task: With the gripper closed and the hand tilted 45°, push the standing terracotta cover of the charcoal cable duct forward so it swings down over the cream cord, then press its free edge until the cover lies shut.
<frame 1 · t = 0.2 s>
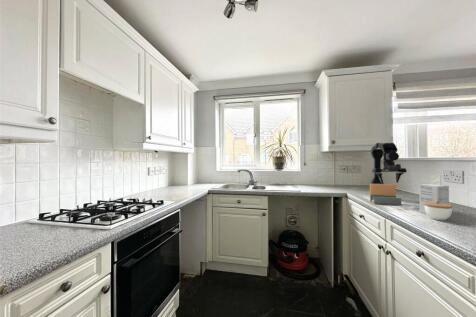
hand: (389, 182, 143), 15 cm above the table, tool pointing down, fingers open, 9 cm apart
supplement box: (433, 214, 117), on the table
cable duct: (384, 203, 145), on the table
duct cover: (382, 189, 149), point 9 cm above the table, hinge at 88.0°
lidded jar: (437, 219, 108), on the table
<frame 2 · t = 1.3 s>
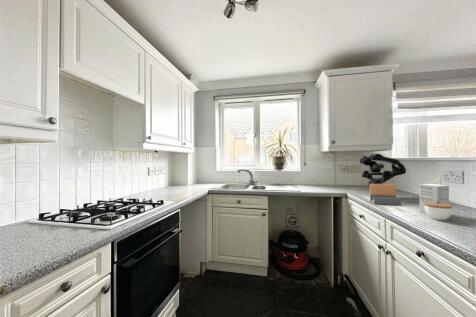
hand: (378, 182, 156), 14 cm above the table, tool tilted 45°, fingers open, 7 cm apart
nothing on the table moved.
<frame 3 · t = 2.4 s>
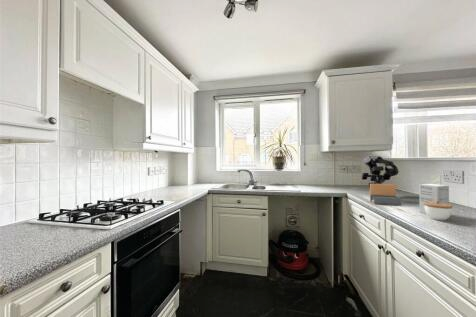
hand: (378, 184, 155), 12 cm above the table, tool tilted 45°, fingers closed
nothing on the table moved.
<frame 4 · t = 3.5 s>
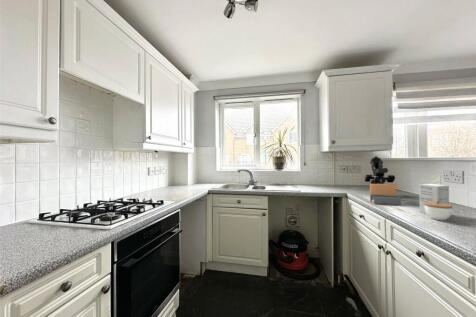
hand: (382, 187, 149), 11 cm above the table, tool tilted 45°, fingers closed, pressing on duct cover
duct cover: (382, 189, 148), point 9 cm above the table, hinge at 84.1°, touching gripper
everything else where it was.
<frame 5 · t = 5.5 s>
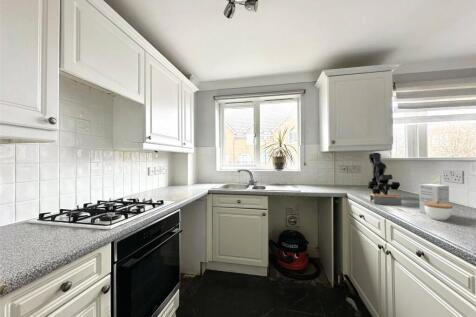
hand: (386, 195, 142), 6 cm above the table, tool tilted 45°, fingers closed, pressing on duct cover
duct cover: (385, 195, 144), point 6 cm above the table, hinge at 1.7°, touching gripper
everything else where it was.
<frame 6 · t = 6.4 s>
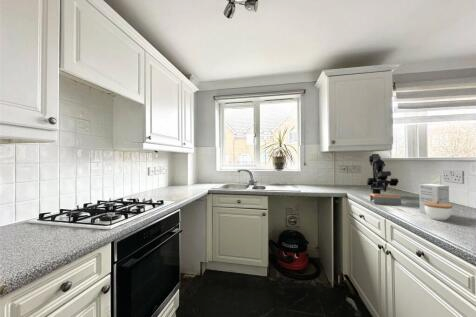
hand: (385, 191, 144), 9 cm above the table, tool tilted 45°, fingers closed
duct cover: (385, 195, 144), point 6 cm above the table, hinge at -0.7°
everything else where it was.
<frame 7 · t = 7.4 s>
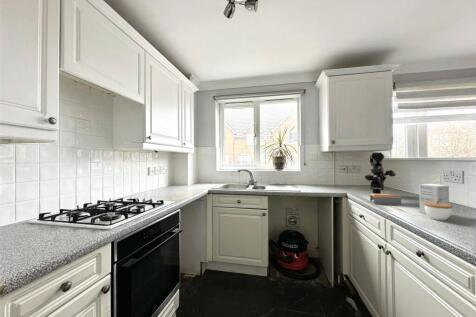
hand: (381, 186, 150), 11 cm above the table, tool tilted 30°, fingers closed
nothing on the table moved.
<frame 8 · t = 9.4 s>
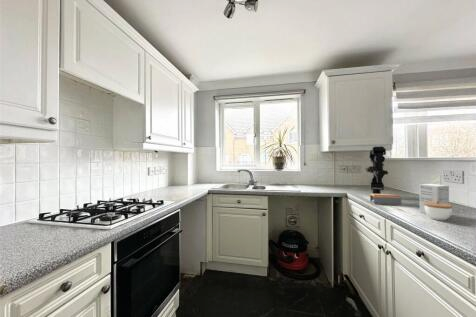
hand: (378, 183, 156), 13 cm above the table, tool pointing down, fingers closed
nothing on the table moved.
at the end: duct cover at -1° (first picture: +88°) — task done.
